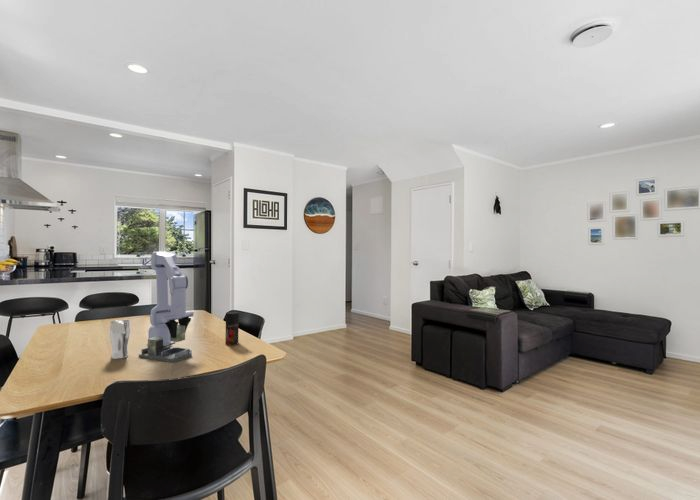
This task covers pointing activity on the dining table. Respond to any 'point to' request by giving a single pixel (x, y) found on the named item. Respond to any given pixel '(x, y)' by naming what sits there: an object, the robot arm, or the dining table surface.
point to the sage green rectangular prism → (179, 334)
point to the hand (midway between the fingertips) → (178, 336)
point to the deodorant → (232, 328)
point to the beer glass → (119, 338)
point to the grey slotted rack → (164, 351)
